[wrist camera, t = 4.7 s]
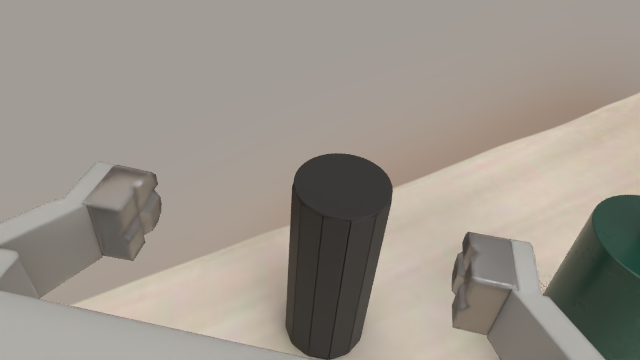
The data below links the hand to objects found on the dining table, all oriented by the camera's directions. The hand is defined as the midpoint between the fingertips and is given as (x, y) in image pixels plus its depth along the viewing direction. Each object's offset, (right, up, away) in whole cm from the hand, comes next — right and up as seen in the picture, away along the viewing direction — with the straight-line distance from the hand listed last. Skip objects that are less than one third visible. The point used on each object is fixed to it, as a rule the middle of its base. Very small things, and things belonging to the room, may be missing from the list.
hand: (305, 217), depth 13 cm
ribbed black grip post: (+1, -10, +24) cm, 26 cm away
